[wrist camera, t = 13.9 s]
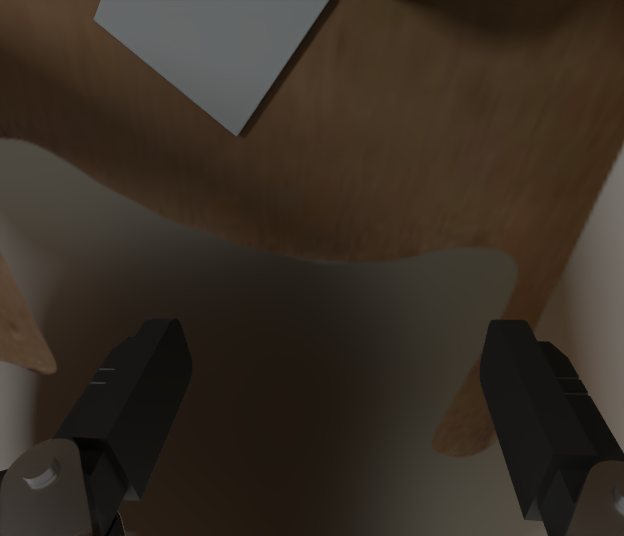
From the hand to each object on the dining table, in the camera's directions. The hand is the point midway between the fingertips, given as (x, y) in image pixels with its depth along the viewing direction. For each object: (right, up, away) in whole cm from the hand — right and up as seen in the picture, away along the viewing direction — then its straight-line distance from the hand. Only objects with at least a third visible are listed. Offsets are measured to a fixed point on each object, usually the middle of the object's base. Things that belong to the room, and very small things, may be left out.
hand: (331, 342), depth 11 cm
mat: (-7, +19, +16) cm, 26 cm away
